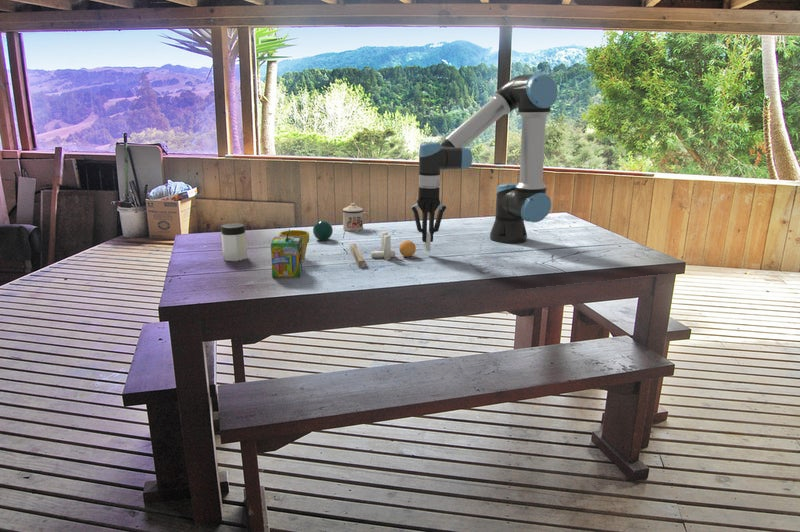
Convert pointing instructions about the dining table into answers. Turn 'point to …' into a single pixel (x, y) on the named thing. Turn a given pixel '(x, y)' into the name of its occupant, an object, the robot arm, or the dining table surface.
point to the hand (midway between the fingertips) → (427, 250)
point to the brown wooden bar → (357, 255)
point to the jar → (233, 242)
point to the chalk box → (286, 256)
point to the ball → (407, 248)
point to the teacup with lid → (353, 218)
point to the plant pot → (298, 234)
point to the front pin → (381, 254)
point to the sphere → (322, 230)
